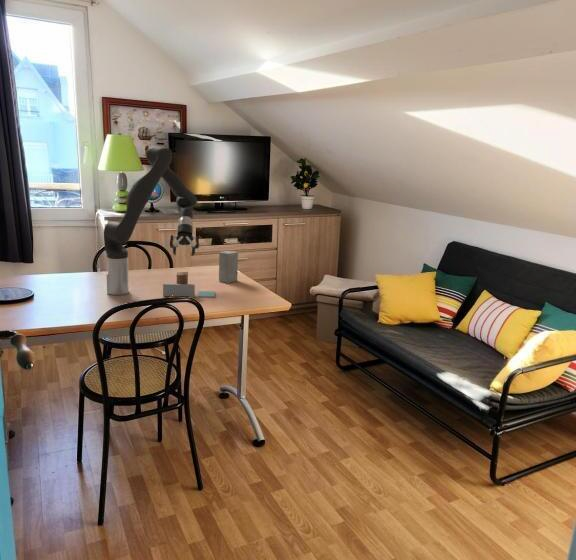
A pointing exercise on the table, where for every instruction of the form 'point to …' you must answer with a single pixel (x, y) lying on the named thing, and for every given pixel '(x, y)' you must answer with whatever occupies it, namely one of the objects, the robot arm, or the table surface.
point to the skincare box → (228, 266)
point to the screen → (179, 290)
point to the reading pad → (206, 294)
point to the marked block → (182, 277)
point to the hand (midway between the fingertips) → (183, 254)
